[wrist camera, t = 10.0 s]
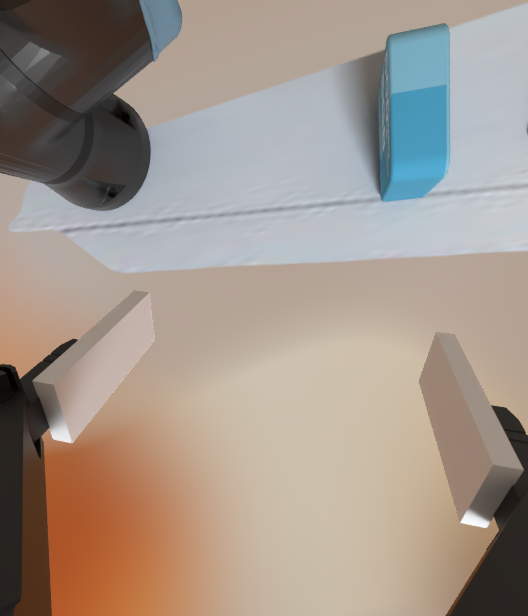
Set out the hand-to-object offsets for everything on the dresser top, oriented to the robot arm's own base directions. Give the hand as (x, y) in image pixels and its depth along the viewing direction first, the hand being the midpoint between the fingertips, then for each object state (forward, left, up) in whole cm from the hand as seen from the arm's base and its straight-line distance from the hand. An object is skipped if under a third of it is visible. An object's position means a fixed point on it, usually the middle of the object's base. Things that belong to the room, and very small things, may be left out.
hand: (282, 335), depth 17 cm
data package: (+4, +18, -29) cm, 34 cm away
